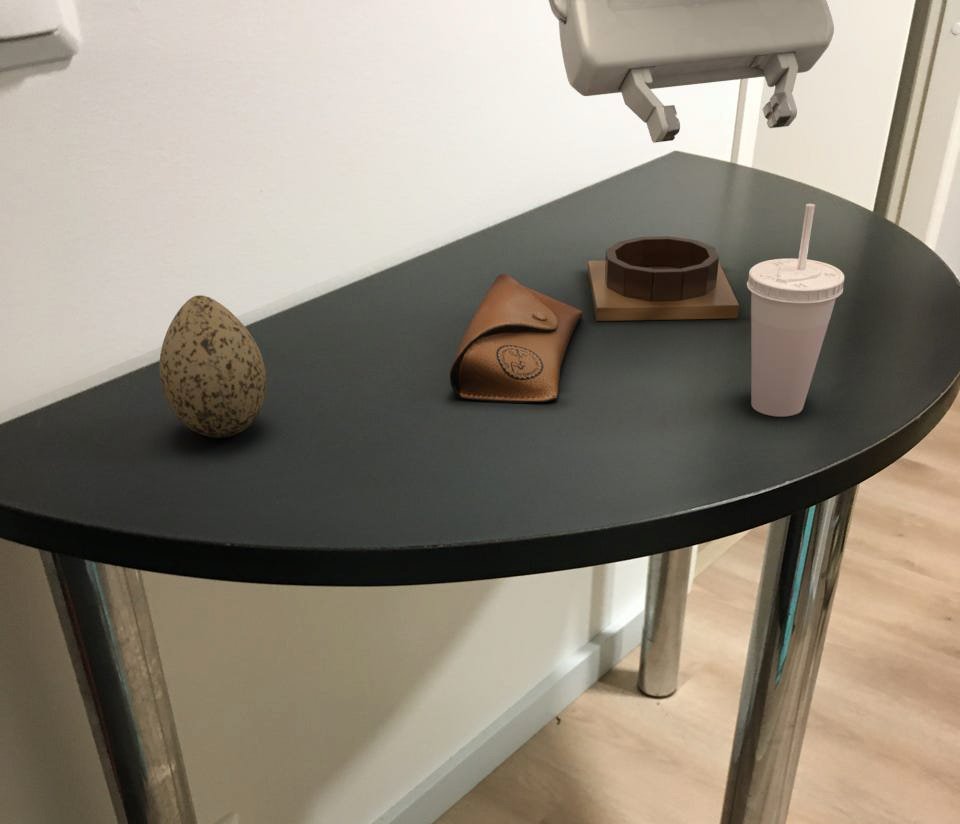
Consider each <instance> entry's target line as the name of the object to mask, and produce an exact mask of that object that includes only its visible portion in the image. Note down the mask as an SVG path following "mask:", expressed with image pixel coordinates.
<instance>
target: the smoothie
mask: <svg viewBox="0 0 960 824" xmlns="http://www.w3.org/2000/svg"><path fill="white" fill-rule="evenodd" d="M815 208H816V204H814V203H806V205H805V211H804V216H803V217H804V219H803V225H802V232H801V236H800V237H801V240H800V245H799V253H798V258H796V257H795V258H793V257H791V258H788V257H787V258H775V259H769V260H768V259H767V260H765V261H761V262H758V263H756V264H755V265H753V266H752V267H751V268H750V269H749V270H748V271H749V272H748V280H747V282H746V287H747V289H748V291H749V292H751V293H750V294H751V295H750V296H751V298H750V299H751V300H750V321H751V322H750V330H751V331H750V336H751V337H750V345H751V346H750V347H751V348H750V354H751V355H750V356H751V357H750V376H751V377H750V391H751V392H750V398H751V399H750V405H751V407H752V408H753V409H754V411H756V412H758V413H759V414H763V415H766V416H771V417H781V418H783V417H790V416H795V415H797V414H800V413H801V412H802V411H803V409H804V407H805V403H806V400H807V396H808V393H809V390H810V386H811V383H812V380H813V377H814V373H815V370H816V367H817V364H818V359H819V356H820V353H821V350H822V347H823V344H824V341H825V337H826V334H827V330H828V327H829V323H830V320H831V317H832V314H833V310H834V307H835V303H836V299H837V298H839V297H840V296H841V295H842V294H843V292H844V282H845V274H844V272H843V271H842V270H840V269H839V268H838V267H836V266H834V265H832V264H829V263H826V262H823V261H818V260H814V259H808V253H809V247H810V241H811V240H810V239H811V234H812V227H813V222H814V221H813V220H814V214H815Z"/></svg>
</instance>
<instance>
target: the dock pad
mask: <svg viewBox="0 0 960 824" xmlns="http://www.w3.org/2000/svg"><path fill="white" fill-rule="evenodd" d="M719 261H720V256H719V254H718V252H717V250H716V248H715V246H711V245H709V244H707V243H704V242H703V241H699V240H698V239H697V240H696V239H691V238H684V237H678V236H669V235H666V236H665V235H659V236H657V235H656V236H639V237H633V238H629V239H625V240H620V241H617V242H616V243H614V244H613V245H611V246H610V247H608V248H606V250H605V260H588V261H587V276H588V277H587V278H588V283H589V288H590V293H591V299H592V303H593V310H594V315H595V321H596V322H614V321H615V322H616V321H617V322H620V321H624V322H625V321H666V320H667V321H668V320H669V321H671V320H719V319H720V320H721V319H726V320H727V319H738V317H739V308H740V304H739V302H738V300H737V298H736V296H735V294H734V292H733V289H732V287H731V285H730V283H729V281H728V279H727V277H726V274H725V272H724V270H723V268H722V266H721V264H720V262H719Z"/></svg>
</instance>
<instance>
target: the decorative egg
mask: <svg viewBox="0 0 960 824" xmlns="http://www.w3.org/2000/svg"><path fill="white" fill-rule="evenodd" d="M164 335H165V336H164V338H163V342H162V345H161V350H160V355H159V369H158V371H159V378H160V384H161V389H162V392H163V395H164V397H165V401H166V403H167V405H168V407H169V408H170V410H171V411H172V413H173V414H174V416H176V418H177V419H178V420H179V422H180V423H182V424H183V425H184V426H186V427H187V428H188V429H189V430H191V431H193V432H194V433H197V434H199V435H200V436H201V435H202V436H204V437H208V438H214V439H224V438H231V437H233V436H236V435H238V434H241V433H242V432H244V431H245V430H246V429H248V428H249V427H250V426H251V425H252V424H253V423H254V421H255V420H256V419H257V418H258V416H259V415H260V413H261V410H262V408H263V406H264V402H265V398H266V393H267V382H268V381H267V372H266V371H267V370H266V367H265V363H264V359H263V355H262V352H261V350H260V349H259V346H258V344H257V342H256V341H255V339H254V337H253V336H252V334H251V333H250V331H249V330H248V329H247V327H246V325H244V324H243V323H242V322H241V321H240V319H239V318H238V317H237V316H236V315H235V314H234V313H233V312H231V310H230V309H228V308H227V307H225V305H223V304H222V303H220V302H219V301H217V300H215V299H213V298H211V297H210V296H207V295H198V294H197V295H194V296H192V297H190V298H189V299H187V300H186V302H184V303H183V305H182V306H180V308H179V310H178V311H177V312H176V314H175V315H174V317H173V318H172V320H171V322H170V324H169V326H168V328H167V330H166V333H165V334H164Z"/></svg>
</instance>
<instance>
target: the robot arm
mask: <svg viewBox="0 0 960 824" xmlns="http://www.w3.org/2000/svg"><path fill="white" fill-rule="evenodd" d="M548 3H549V7H550V11H551V13H552V14H553V15H554V17H555V18H556V19H557V20H558V30H559V31H558V32H559V41H560V42H559V43H560V48H561V54H562V59H563V64H564V69H565V74H566V78H567V82H568V84H569V85H570V87H571V88H573V89H574V90H575V91H576V92H577V93H579V94H580V95H581V96H583V97H591V96H592V97H593V96H600V95H609V94H619V93H621V95H622V99H623V103H624V105H626V106H627V107H628V108H629V109H630V110H631V111H632V113H634V114H635V115H636V116H637V118H639V119H640V120H641V121H642V122H643V123H645V124H646V126H647V130H648V133H649V136H650V139H651V141H652V143H654V144H655V143H662V142H671V141H674V140H675V139H676V136H677V135H678V134H679V132H680V130H681V123H680V119H679V118H678V116H677V115H678V113H677V109H676V105H675V104H672V105H670V104H669V105H664V104H663V103H662V101H661V100H660V99H659V98H658V97H657V95H656V94H655V93H654V92H653V91H652V90H655V89H664V88H673V87H674V88H675V87H682V86H691V85H700V84H709V83H718V82H728V81H736V80H746V79H755V78H763V77H764V79H765V82H766V85H767V87H768V88H773V87H774V92H773V94H772V95H771V97H770V98H769V101H768V102H767V103H766V104H765V105H764V106H763V108H762V113H763V115H764V118H765V119H766V125H767V127H768V128H769V129H776V128H785V127H789V126H791V124H792V123H793V122H794V120H795V119H796V118H797V115H798V108H797V104H796V102H795V98H794V95H793V91H794V88H795V84H796V79H797V76H798V74H802V73H806V72H809V71H810V70H812V68H813V67H814V66H815V65H816V64H817V62H818V61H819V60H820V59H821V57H822V56H823V54H824V53H825V52H826V51H827V49H828V48H829V46H830V44H831V42H832V40H833V36H834V33H835V25H834V20H833V17H832V14H831V11H830V8H829V4H828V1H827V0H548Z"/></svg>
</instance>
